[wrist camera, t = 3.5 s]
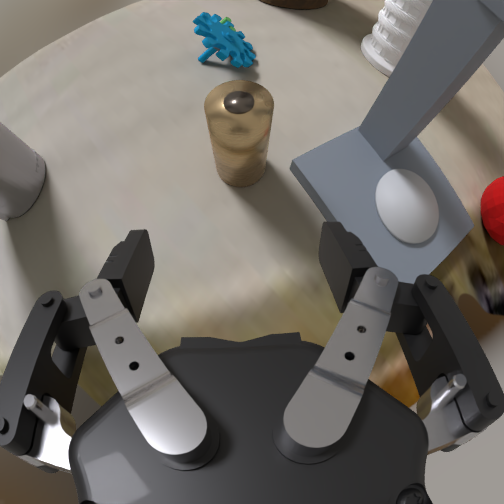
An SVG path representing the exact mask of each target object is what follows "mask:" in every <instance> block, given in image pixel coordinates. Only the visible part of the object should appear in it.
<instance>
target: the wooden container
mask: <svg viewBox="0 0 504 504" xmlns="http://www.w3.org/2000/svg"><path fill="white" fill-rule="evenodd" d="M260 1H262V2H265V3H268V4H271V5H275V6H279V7H284V8H292V9H316V8H320V7H323V6H325V5H326V4H327V3H328V0H260Z"/></svg>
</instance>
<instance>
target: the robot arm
mask: <svg viewBox="0 0 504 504" xmlns="http://www.w3.org/2000/svg"><path fill="white" fill-rule="evenodd" d="M45 170H46V169H45V163H44V160H43V158H42V157H41V156H40V155H39V154H37V153H36V152H35V151H34V150H33V149H31V148H30V147H29V146H28V145H27V144H26V143H24V142H23V141H22V140H21V139H20V138H18V137H17V136H16V135H15V134H14V133H13V132H11V131H10V130H9V129H8V128H7V127H6V126H4V125H3V124H2V123H1V122H0V219H2V220H5V221H7V220H8V219H9V218H10V217H18V216H21V215H22V214H24V213H25V212H26V211H27V210H28V209H29V208H30V207H31V206H32V205H33V203H34V202H35V200H36V199H37V197H38V195H39V193H40V191H41V188H42V185H43V183H44V178H45ZM319 261H320V264H321V267H322V269H323V272H324V274H325V276H326V279H327V281H328V284H329V286H330V289H331V291H332V293H333V296H334V298H335V301H336V303H337V306H338V309H339V311H340V313H344V314H343V316H342V317H341V319H340V321H339V323H338V325H337V327H336V329H335V331H334V332H333V334H332V336H331V338H330V340H329V341H328V343H327V345H326V347H325V348H324V347H322V346H320V345H317V344H314V343H311V342H307V341H301V337H300V333H299V332H296V333H284V334H270V335H267V336H263V337H260V338H256V339H252V340H248V341H245V342H234V341H228V340H223V339H217V338H212V337H181V344H180V346H179V347H175V348H172V349H169V350H167V351H165V352H163V353H161V354H159V355H157V354H156V352H155V351H154V350H153V348H152V347H151V345H150V344H149V342H148V341H147V339H146V338H145V336H144V335H143V333H142V332H141V330H140V329H139V327H138V325H137V324H136V322H138V321H139V318H140V314H141V311H142V307H143V304H144V301H145V297H146V294H147V291H148V288H149V284H150V281H151V278H152V275H153V272H154V256H153V252H152V248H151V243H150V239H149V234H148V231H147V230H146V229H144V230H131V231H130V232H129V234H128V236H127V237H126V239H125V241H121V242H120V243H119V244H117V245H116V246H115V247H114V248H113V250H112V251H111V253H110V255H109V257H108V259H107V260H106V262H105V264H104V266H103V268H102V270H101V272H100V273H99V275H98V277H97V279H95V280H92V281H90V282H88V283H87V284H85V285H84V286H83V287H82V289H81V290H80V293H79V296H75V297H71V298H68V299H63V297H62V295H61V293H60V292H58V291H49V292H47V293H45V294H43V295H42V296H41V297H39V299H38V300H37V301H36V303H35V305H34V307H33V309H32V311H31V313H30V315H29V317H28V319H27V321H26V323H25V325H24V327H23V329H22V331H21V333H20V336H19V338H18V340H17V342H16V345H15V347H14V349H13V352H12V354H11V356H10V359H9V361H8V364H7V367H6V369H5V372H4V375H3V377H2V380H1V383H0V446H1V447H2V448H4V449H6V450H7V451H9V452H10V453H12V454H14V455H16V456H17V457H19V458H21V459H22V460H24V461H26V462H28V463H30V464H31V465H33V466H36V467H37V468H39V469H41V470H43V471H45V472H48V473H56V472H57V471H59V470H62V471H65V472H69V473H72V475H73V478H74V481H75V485H76V489H77V493H78V500H79V504H433V503H432V501H431V500H430V498H429V496H428V494H427V492H426V489H425V482H424V480H425V476H424V474H425V463H426V458H427V455H429V454H431V453H434V452H437V451H439V450H441V451H443V452H449V451H452V450H454V449H456V448H457V447H459V446H460V445H462V444H464V443H467V442H468V441H470V440H471V439H473V438H474V437H475V436H477V435H478V434H480V433H481V432H482V431H484V430H485V429H486V428H487V427H488V426H489V425H491V424H492V423H493V422H494V421H496V420H497V419H498V418H499V417H500V416H502V414H503V413H504V393H503V391H502V389H501V387H500V384H499V382H498V380H497V378H496V375H495V374H494V372H493V369H492V367H491V365H490V363H489V361H488V359H487V357H486V355H485V354H484V351H483V350H482V348H481V346H480V344H479V342H478V340H477V338H476V337H475V335H474V333H473V331H472V330H471V328H470V326H469V325H468V323H467V321H466V319H465V318H464V316H463V314H462V313H461V311H460V310H459V308H458V306H457V305H456V303H455V302H454V300H453V299H452V297H451V296H450V294H449V293H448V291H447V290H446V288H445V287H444V285H443V284H442V282H441V281H440V280H438V279H437V278H436V277H434V276H431V275H428V274H421V275H419V276H417V278H416V280H415V282H414V284H411V283H405V282H399V281H398V278H397V276H396V275H395V274H394V273H393V272H391V271H390V270H388V269H385V268H382V267H378V266H377V264H376V263H375V261H374V260H373V258H372V256H371V255H370V253H369V252H368V251H367V249H366V247H365V246H364V245H363V243H362V242H361V240H360V239H359V237H357V236H356V235H355V234H353V233H352V232H347V231H346V229H345V228H344V226H343V225H342V223H341V222H324V223H323V226H322V232H321V240H320V246H319ZM427 323H428V324H429V326H430V328H431V330H432V333H433V339H432V337H431V335H430V333H429V331H428V329H427V327H426V325H427ZM386 331H389V332H395V333H396V335H397V338H398V340H399V342H400V345H401V347H402V350H403V352H404V355H405V357H406V360H407V362H408V365H409V368H410V370H411V373H412V376H413V378H414V381H415V384H416V387H417V390H418V392H419V395H420V398H419V400H418V402H417V414H416V413H415V412H414V411H412V410H411V409H409V408H408V407H407V406H405V405H404V404H402V403H401V402H400V401H398V400H397V399H395V398H394V397H393V396H391V395H390V394H388V393H387V392H386V391H384V390H383V389H381V388H380V387H379V386H377V385H376V384H375V383H373V382H372V381H370V380H369V379H368V378H369V376H370V373H371V371H372V368H373V365H374V363H375V360H376V358H377V355H378V352H379V349H380V347H381V344H382V341H383V338H384V335H385V332H386ZM54 341H55V343H56V347H55V350H54V352H53V355H52V358H51V348H52V345H53V343H54ZM92 345H97V347H98V349H99V352H100V354H101V356H102V358H103V360H104V362H105V365H106V367H107V369H108V371H109V373H110V375H111V377H112V379H113V381H114V383H115V385H116V387H117V388H118V390H119V391H118V392H117V393H116V394H115V395H114V396H113V397H111V398H110V399H109V400H108V401H107V402H106V403H105V404H104V405H103V406H102V407H101V408H100V409H99V410H98V411H96V412H95V413H94V414H93V415H92V416H91V417H90V418H89V419H88V420H87V421H86V422H84V423H83V424H82V425H81V426H80V427H79V428H78V429H77V430H76V424H75V420H74V418H73V417H72V415H71V411H72V406H73V401H74V397H75V392H76V388H77V384H78V379H79V375H80V372H81V368H82V364H83V360H84V357H85V353H86V350H87V347H88V346H92Z"/></svg>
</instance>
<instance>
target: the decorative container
mask: <svg viewBox="0 0 504 504" xmlns="http://www.w3.org/2000/svg"><path fill="white" fill-rule="evenodd" d="M432 1H433V0H385V6H384V8H383V9H382V10H381V11H380V12H379V16H378V22H377V23H376V24H375V25H374V26H373V29H372V34H368V35H366V36H365V37H364V38H363V40H362V43H361V51H362V53H363V55H364V56H365V58H366V59H367V60H368V61H369V62H370V63H371V64H372V65H373V66H374V67H375V68H376V69H378V70H379V71H380V72H382V73H383V74H385V75H387V76H388V77H390V75H391V74H392V72H393V70H394V69H395V67H396V65H397V63H398V62H399V60H400V58H401V57H402V55H403V53H404V51H405V50H406V48H407V46H408V44H409V43H410V41H411V39H412V37H413V36H414V34H415V32H416V30H417V28H418V27H419V25H420V23H421V21H422V19H423V18H424V16H425V14H426V12H427V10H428V9H429V7H430V5H431V3H432Z"/></svg>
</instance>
